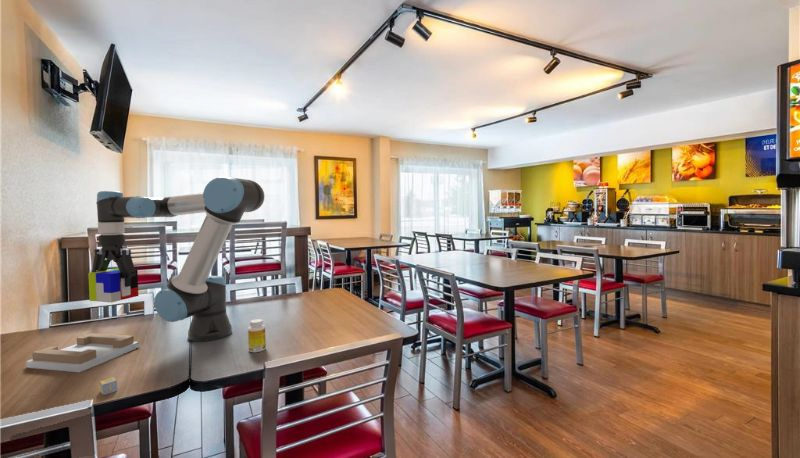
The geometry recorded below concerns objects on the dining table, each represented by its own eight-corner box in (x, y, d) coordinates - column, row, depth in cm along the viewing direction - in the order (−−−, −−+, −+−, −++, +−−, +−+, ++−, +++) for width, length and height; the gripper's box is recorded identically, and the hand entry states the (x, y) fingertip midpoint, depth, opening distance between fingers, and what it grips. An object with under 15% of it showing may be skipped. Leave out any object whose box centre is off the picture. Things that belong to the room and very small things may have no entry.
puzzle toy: (111, 302, 126) (110, 274, 125) (89, 300, 128) (88, 273, 128) (138, 295, 136) (137, 269, 135) (117, 294, 138) (116, 268, 137)
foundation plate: (138, 347, 128) (138, 335, 128) (79, 372, 108) (78, 357, 108) (92, 344, 132) (91, 331, 131) (26, 367, 112) (25, 353, 112)
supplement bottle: (266, 351, 124) (265, 321, 123) (249, 354, 121) (248, 324, 121) (264, 345, 129) (264, 317, 128) (248, 348, 126) (247, 319, 126)
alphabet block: (102, 395, 95) (102, 384, 94) (100, 391, 97) (99, 380, 96) (117, 391, 97) (116, 380, 97) (114, 387, 99) (114, 376, 99)
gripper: (146, 233, 132) (148, 294, 133) (98, 233, 137) (101, 290, 138) (126, 235, 124) (129, 298, 126) (76, 234, 130) (79, 295, 131)
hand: (114, 294), depth 132 cm, fingers closed on puzzle toy, 10 cm apart
